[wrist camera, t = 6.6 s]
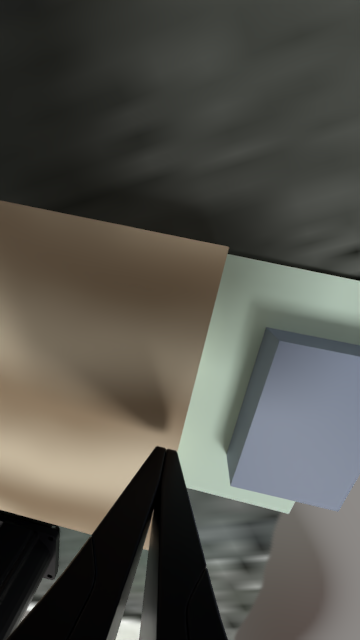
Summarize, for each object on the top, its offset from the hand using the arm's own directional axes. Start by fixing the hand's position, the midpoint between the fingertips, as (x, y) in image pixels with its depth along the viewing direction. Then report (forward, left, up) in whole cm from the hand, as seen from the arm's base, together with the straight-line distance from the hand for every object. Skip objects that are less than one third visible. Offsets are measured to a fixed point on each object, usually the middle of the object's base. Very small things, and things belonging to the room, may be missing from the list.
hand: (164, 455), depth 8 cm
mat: (0, -5, -5) cm, 7 cm away
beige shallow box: (0, +5, -5) cm, 7 cm away
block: (0, -7, -3) cm, 8 cm away
